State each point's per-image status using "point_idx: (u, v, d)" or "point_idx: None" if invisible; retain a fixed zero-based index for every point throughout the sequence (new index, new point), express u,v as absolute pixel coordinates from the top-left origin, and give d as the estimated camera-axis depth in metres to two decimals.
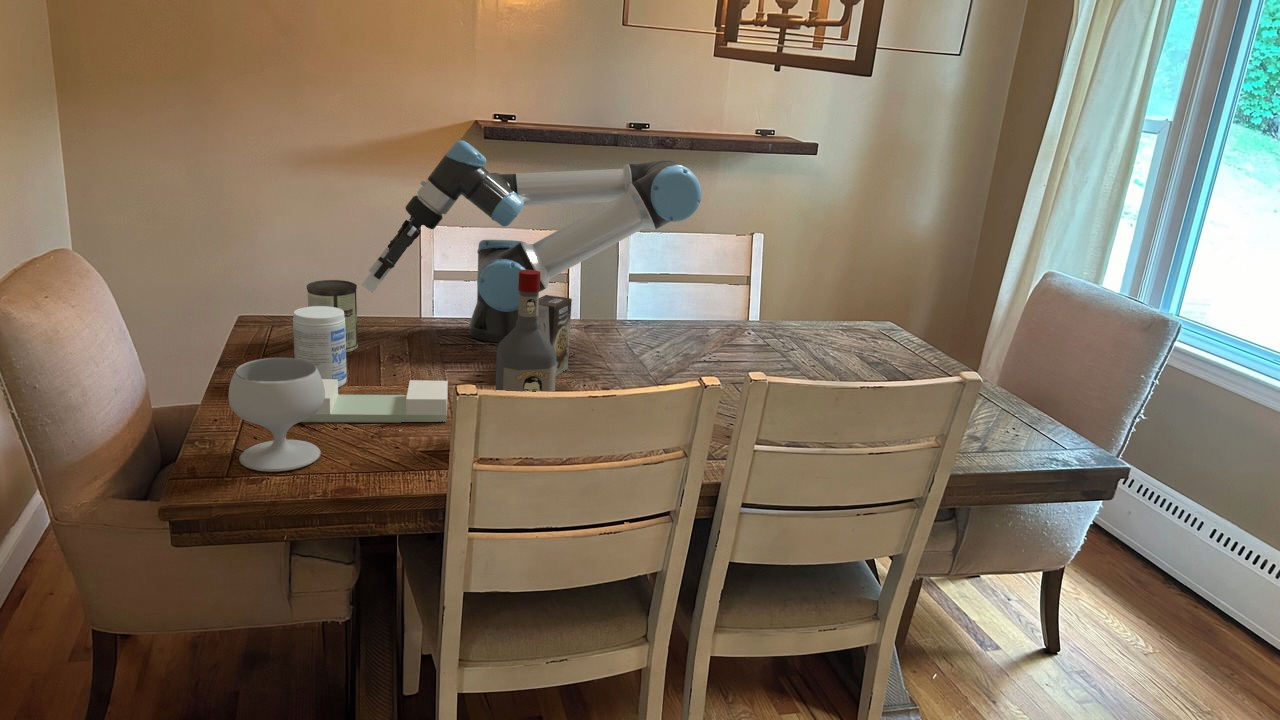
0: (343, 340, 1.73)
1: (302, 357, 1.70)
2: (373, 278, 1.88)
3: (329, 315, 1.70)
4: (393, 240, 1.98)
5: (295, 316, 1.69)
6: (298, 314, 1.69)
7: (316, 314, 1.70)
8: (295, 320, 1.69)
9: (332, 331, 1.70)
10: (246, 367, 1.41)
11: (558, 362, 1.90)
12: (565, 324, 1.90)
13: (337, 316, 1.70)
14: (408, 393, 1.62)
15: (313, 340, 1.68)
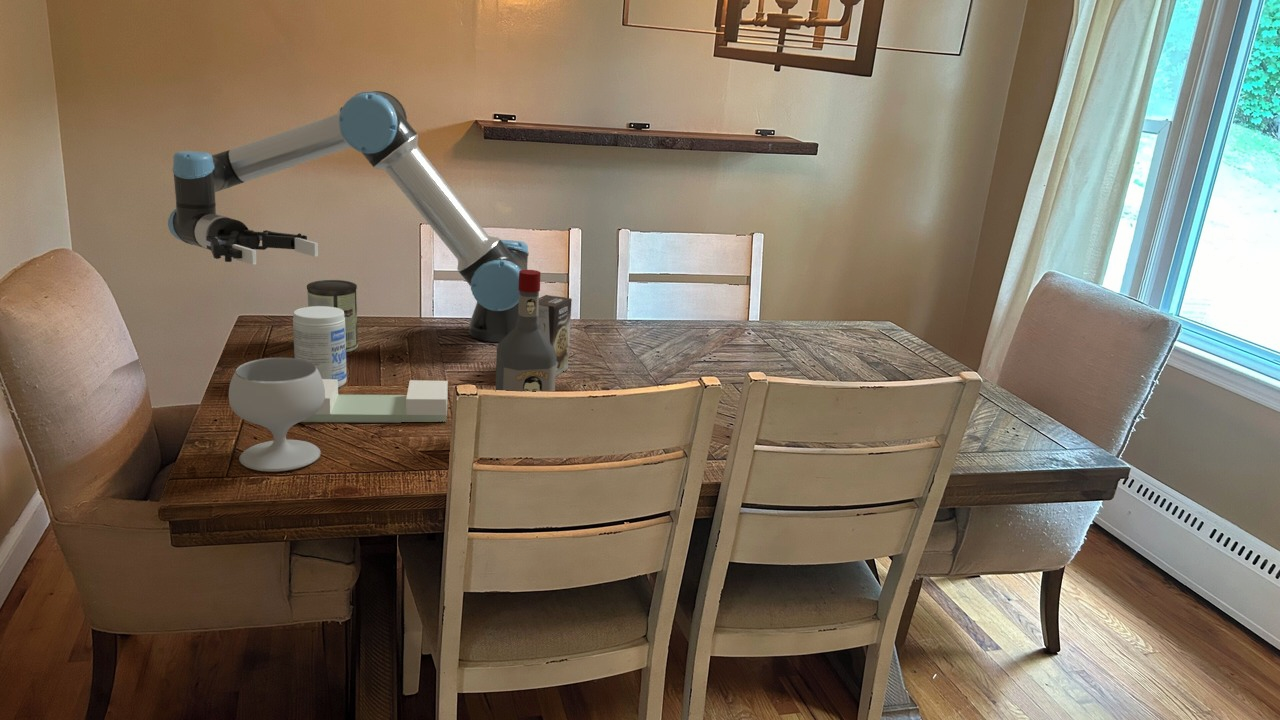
0: (343, 340, 1.73)
1: (302, 357, 1.70)
2: (244, 256, 1.70)
3: (329, 315, 1.70)
4: (281, 248, 1.83)
5: (295, 316, 1.69)
6: (298, 314, 1.69)
7: (316, 314, 1.70)
8: (295, 320, 1.69)
9: (332, 331, 1.70)
10: (246, 367, 1.41)
11: (558, 362, 1.90)
12: (565, 324, 1.90)
13: (337, 316, 1.70)
14: (408, 393, 1.62)
15: (313, 340, 1.68)
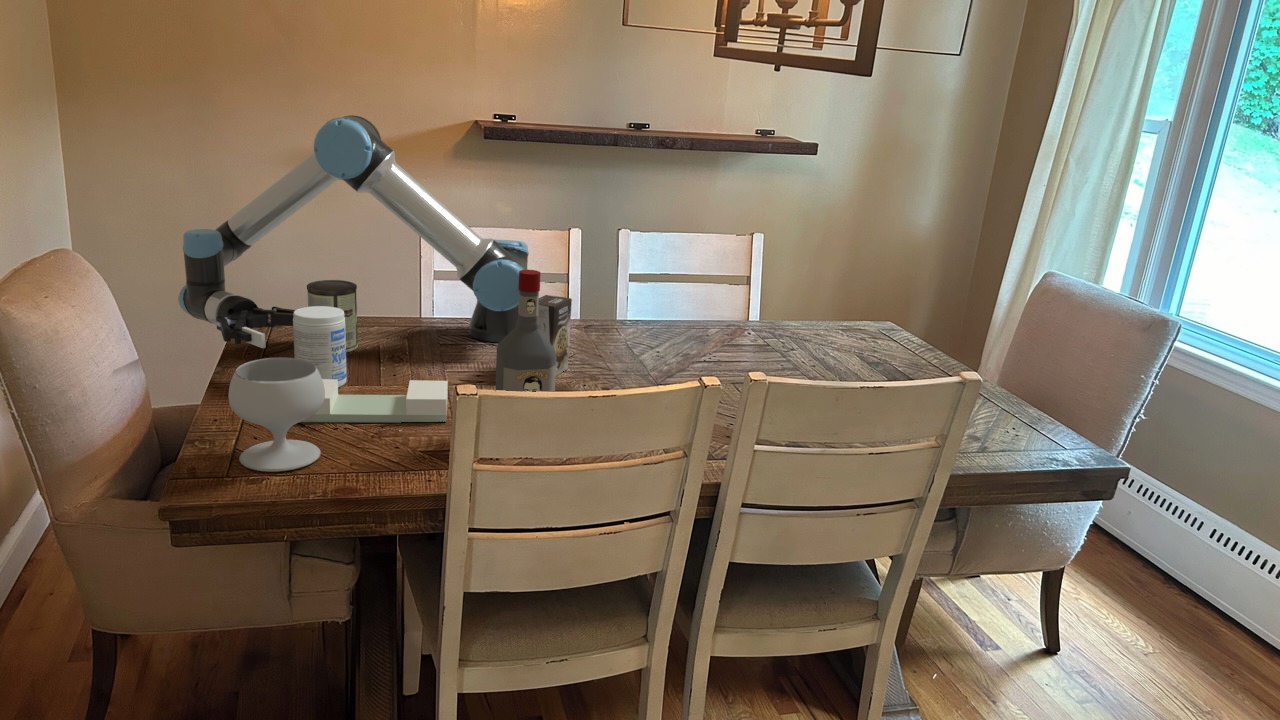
0: (343, 340, 1.73)
1: (302, 357, 1.70)
2: (253, 339, 1.73)
3: (329, 315, 1.70)
4: (289, 325, 1.87)
5: (295, 316, 1.69)
6: (298, 314, 1.69)
7: (316, 314, 1.70)
8: (295, 320, 1.69)
9: (332, 331, 1.70)
10: (246, 367, 1.41)
11: (558, 362, 1.90)
12: (565, 324, 1.90)
13: (337, 316, 1.70)
14: (408, 393, 1.62)
15: (313, 340, 1.68)
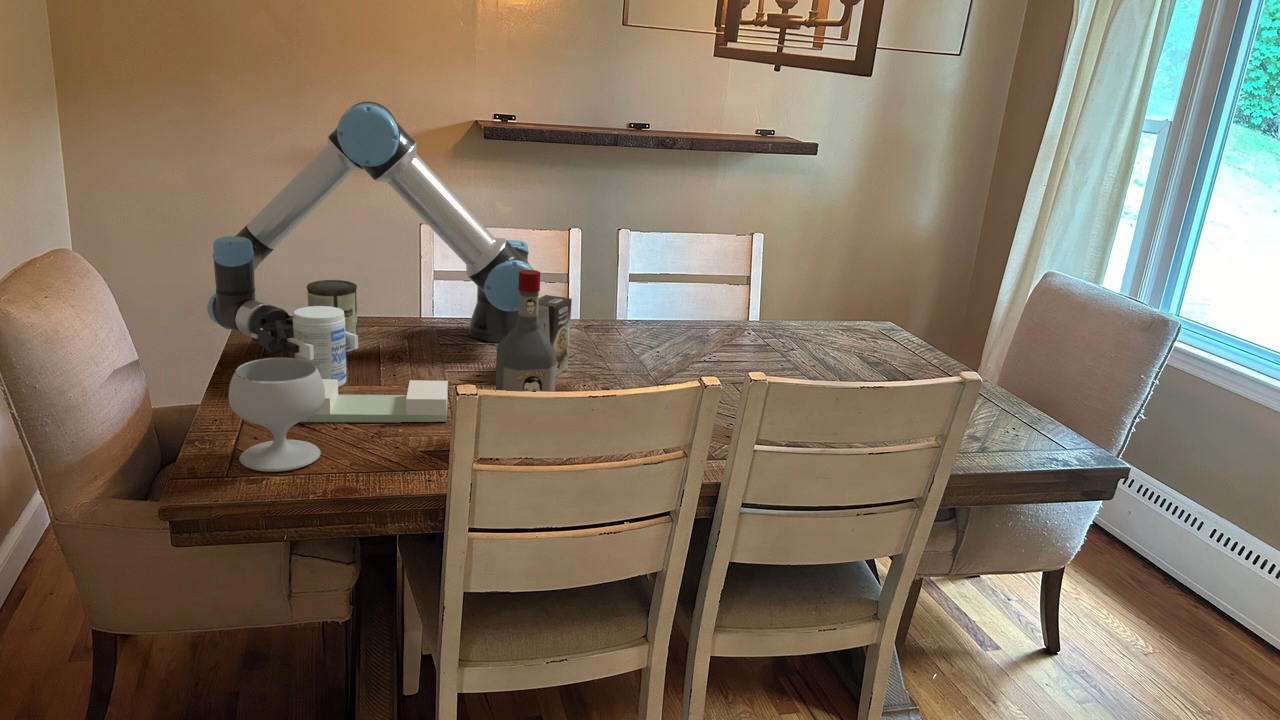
0: (343, 340, 1.73)
1: (302, 357, 1.70)
2: (301, 351, 1.68)
3: (329, 315, 1.70)
4: None
5: (295, 316, 1.69)
6: (298, 314, 1.69)
7: (316, 314, 1.70)
8: (295, 320, 1.69)
9: (332, 331, 1.70)
10: (246, 367, 1.41)
11: (558, 362, 1.90)
12: (565, 324, 1.90)
13: (337, 316, 1.70)
14: (408, 393, 1.62)
15: (313, 340, 1.68)
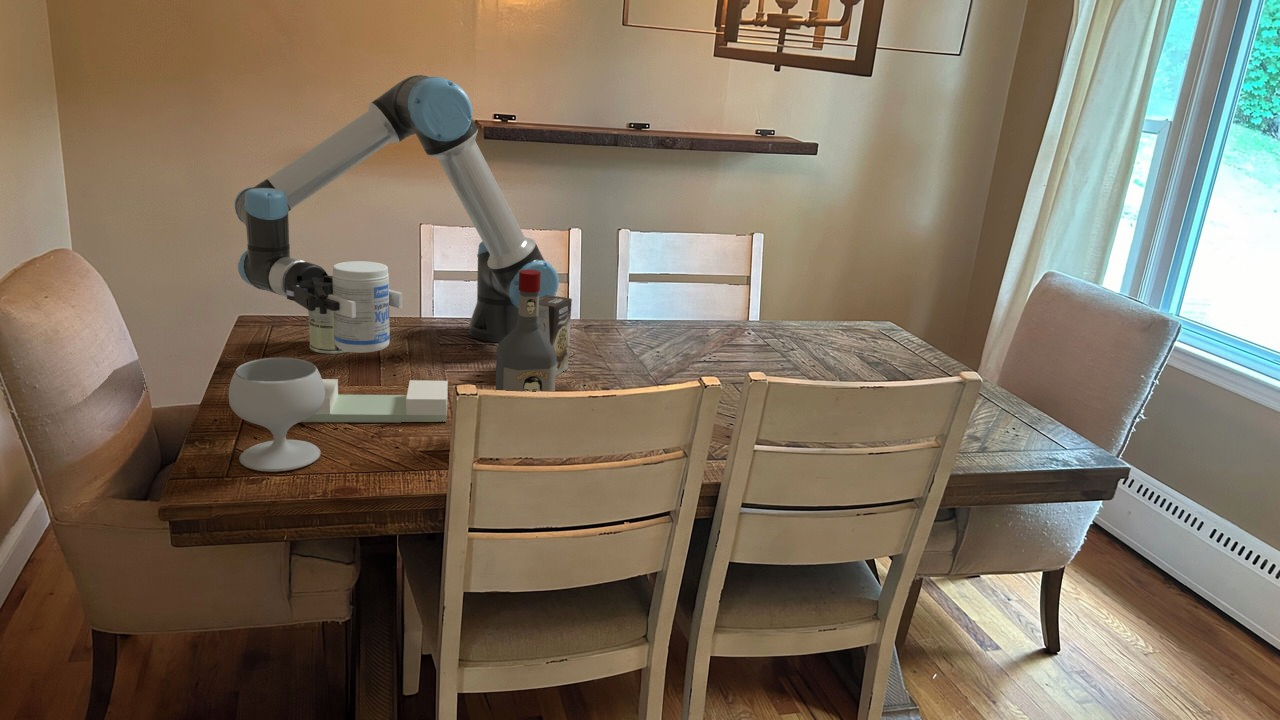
0: (387, 298, 1.58)
1: (342, 315, 1.55)
2: (342, 308, 1.53)
3: (372, 269, 1.55)
4: None
5: (335, 270, 1.54)
6: (338, 268, 1.54)
7: (358, 268, 1.55)
8: (335, 275, 1.54)
9: (375, 287, 1.54)
10: (246, 367, 1.41)
11: (558, 362, 1.90)
12: (565, 324, 1.90)
13: (381, 271, 1.55)
14: (408, 393, 1.62)
15: (355, 296, 1.53)
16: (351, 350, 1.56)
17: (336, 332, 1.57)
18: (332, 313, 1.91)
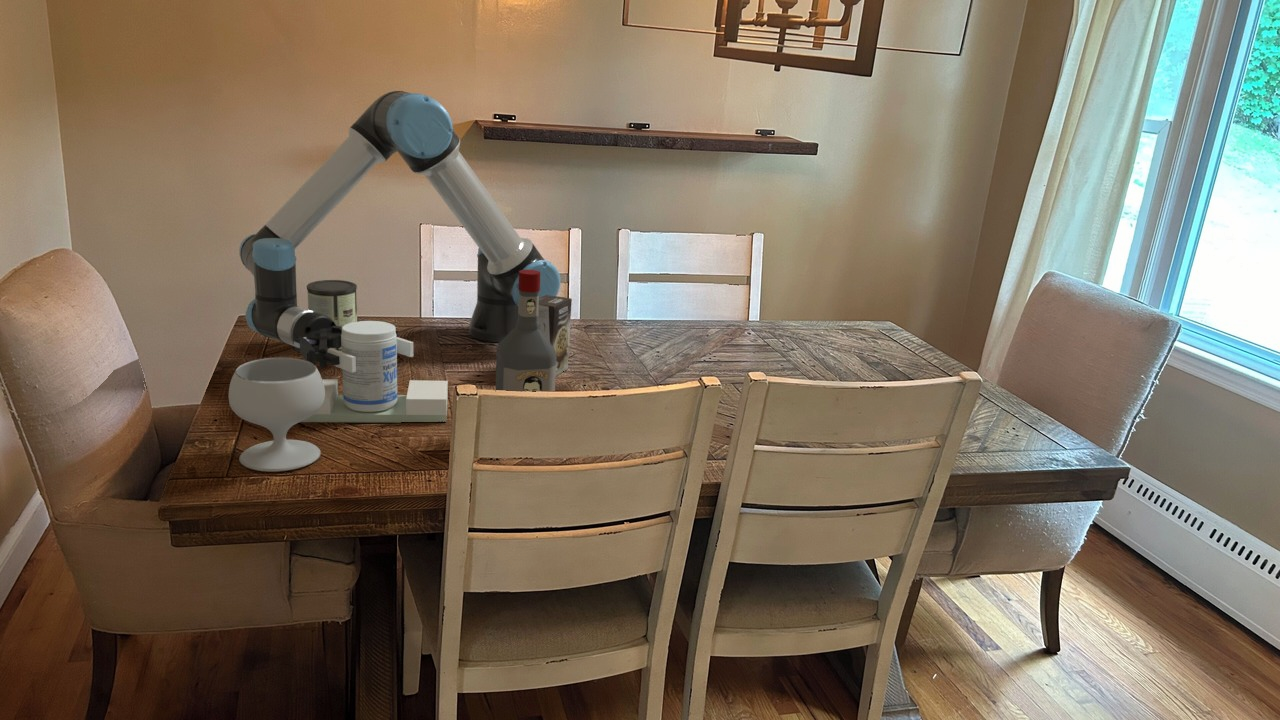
0: (395, 357, 1.60)
1: (351, 376, 1.57)
2: (342, 363, 1.55)
3: (380, 331, 1.57)
4: None
5: (344, 332, 1.56)
6: (347, 330, 1.56)
7: (366, 330, 1.57)
8: (344, 337, 1.57)
9: (384, 348, 1.57)
10: (246, 367, 1.41)
11: (558, 362, 1.90)
12: (565, 324, 1.90)
13: (389, 332, 1.58)
14: (408, 393, 1.62)
15: (364, 358, 1.56)
16: (360, 410, 1.59)
17: (345, 392, 1.59)
18: (332, 313, 1.91)
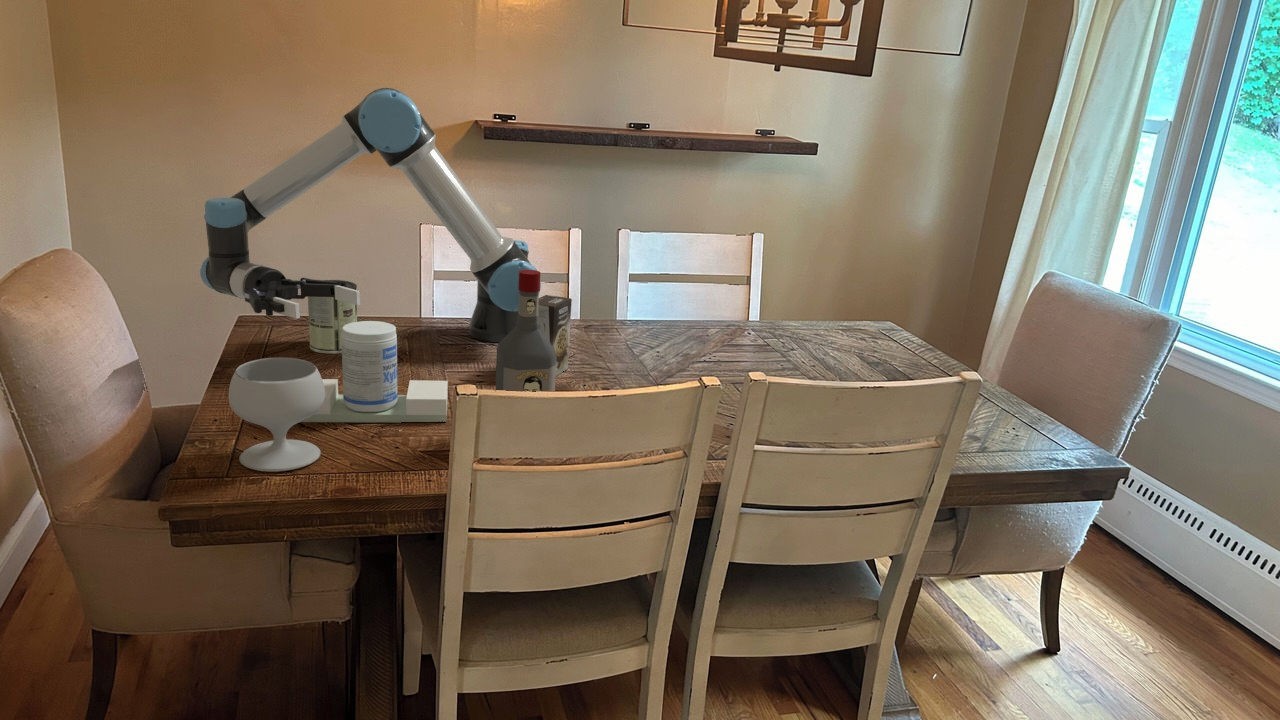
0: (395, 358, 1.60)
1: (351, 376, 1.57)
2: (286, 310, 1.63)
3: (381, 331, 1.57)
4: (321, 296, 1.77)
5: (344, 332, 1.56)
6: (347, 330, 1.56)
7: (367, 330, 1.57)
8: (344, 337, 1.57)
9: (384, 348, 1.57)
10: (246, 367, 1.41)
11: (558, 362, 1.90)
12: (565, 324, 1.90)
13: (389, 332, 1.58)
14: (408, 393, 1.62)
15: (364, 358, 1.56)
16: (360, 410, 1.59)
17: (345, 392, 1.59)
18: (332, 313, 1.91)
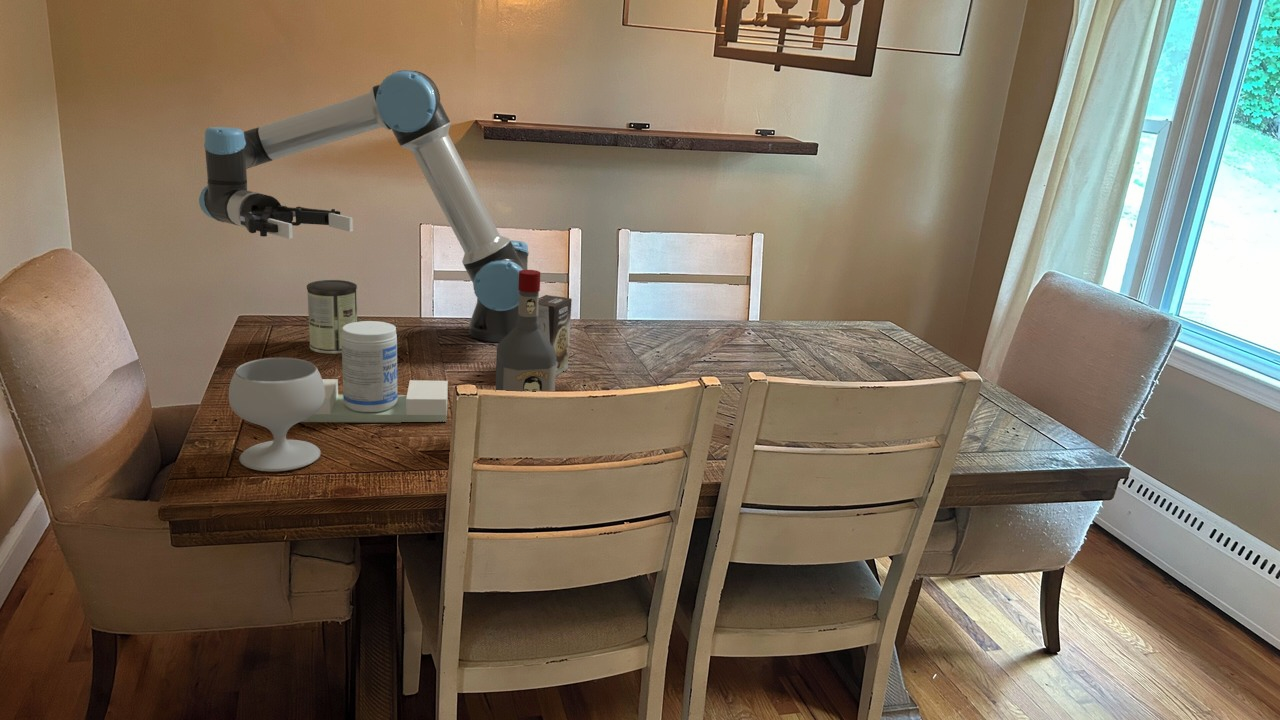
0: (395, 358, 1.60)
1: (352, 377, 1.57)
2: (280, 230, 1.67)
3: (381, 331, 1.57)
4: None
5: (344, 332, 1.56)
6: (347, 330, 1.56)
7: (367, 330, 1.57)
8: (344, 337, 1.57)
9: (384, 349, 1.57)
10: (246, 367, 1.41)
11: (558, 362, 1.90)
12: (565, 324, 1.90)
13: (389, 332, 1.58)
14: (408, 393, 1.62)
15: (364, 358, 1.56)
16: (360, 410, 1.59)
17: (345, 392, 1.59)
18: (332, 313, 1.91)
